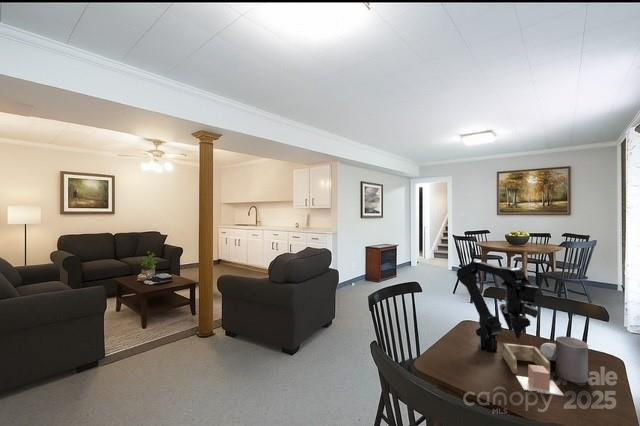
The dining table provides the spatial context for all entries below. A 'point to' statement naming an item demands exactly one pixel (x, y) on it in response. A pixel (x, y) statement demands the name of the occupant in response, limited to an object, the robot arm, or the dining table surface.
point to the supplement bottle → (549, 351)
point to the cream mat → (529, 387)
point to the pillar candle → (572, 359)
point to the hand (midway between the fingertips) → (514, 334)
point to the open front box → (523, 356)
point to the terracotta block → (539, 377)
